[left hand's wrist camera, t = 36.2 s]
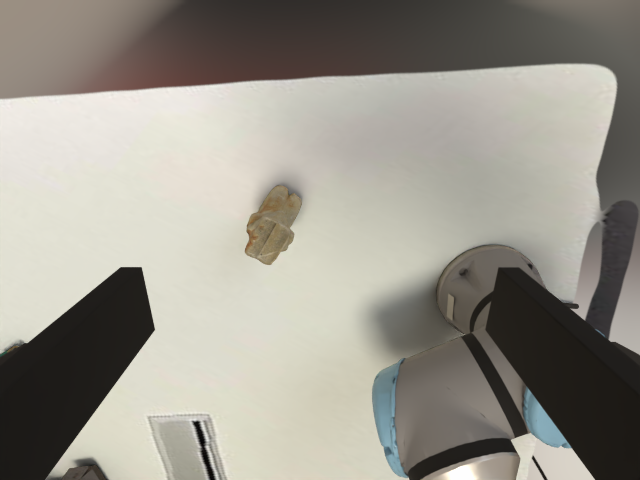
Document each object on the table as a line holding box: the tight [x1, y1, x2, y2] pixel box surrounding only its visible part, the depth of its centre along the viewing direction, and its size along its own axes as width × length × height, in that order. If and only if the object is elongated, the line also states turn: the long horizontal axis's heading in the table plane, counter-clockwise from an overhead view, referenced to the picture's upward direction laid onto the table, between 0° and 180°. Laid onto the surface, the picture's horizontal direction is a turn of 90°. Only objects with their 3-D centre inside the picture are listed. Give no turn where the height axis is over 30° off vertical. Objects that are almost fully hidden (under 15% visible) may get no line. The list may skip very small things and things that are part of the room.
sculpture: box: [245, 185, 302, 265], centre depth 42 cm, size 6×7×15 cm
